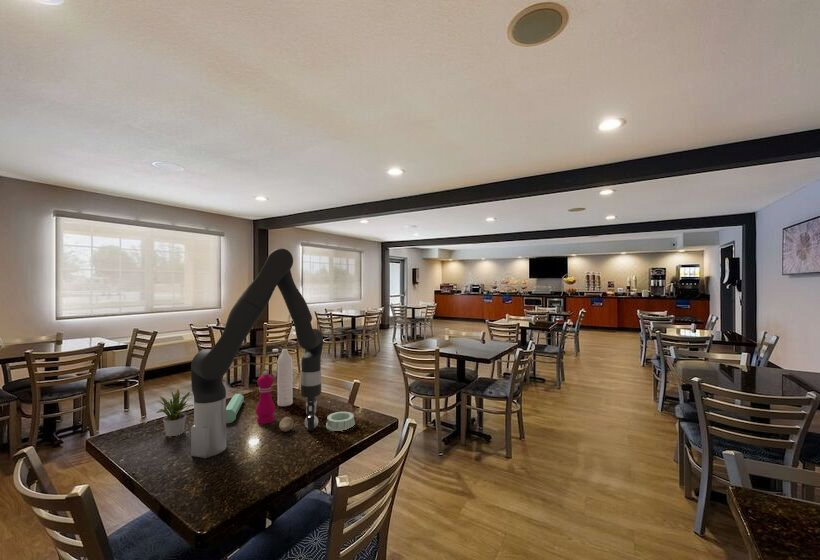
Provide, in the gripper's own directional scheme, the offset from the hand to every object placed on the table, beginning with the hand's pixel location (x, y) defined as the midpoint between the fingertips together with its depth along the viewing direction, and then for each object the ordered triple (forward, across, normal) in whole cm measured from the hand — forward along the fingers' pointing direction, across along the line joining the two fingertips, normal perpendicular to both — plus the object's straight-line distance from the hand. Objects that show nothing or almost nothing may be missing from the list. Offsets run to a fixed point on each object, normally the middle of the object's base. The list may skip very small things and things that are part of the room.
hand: (311, 426), depth 133 cm
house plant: (+1, +6, +47) cm, 48 cm away
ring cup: (+1, 0, -11) cm, 11 cm away
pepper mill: (+1, +12, +18) cm, 22 cm away
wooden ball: (+1, 0, +9) cm, 9 cm away
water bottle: (+1, +30, +14) cm, 33 cm away
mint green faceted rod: (+1, +26, +33) cm, 42 cm away
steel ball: (+1, 0, 0) cm, 1 cm away
